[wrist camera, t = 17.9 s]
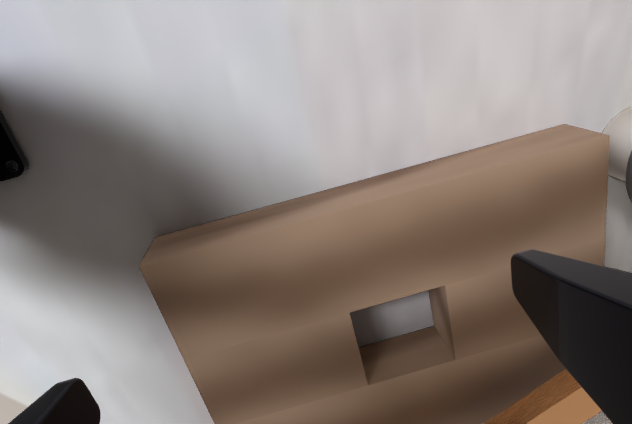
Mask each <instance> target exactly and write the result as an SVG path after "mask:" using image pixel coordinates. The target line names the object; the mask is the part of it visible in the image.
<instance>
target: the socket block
mask: <svg viewBox="0 0 632 424" xmlns="http://www.w3.org/2000/svg"><path fill="white" fill-rule="evenodd" d="M609 137H610V135H606V134H602V133H598V132H594V131H590V130H586V129H582V128H578V127H574V126H570V125H566V124H563V125H559V126H556V127H552V128H549V129H545V130H541V131H538V132H534V133H531V134H527V135H523V136H520V137H516V138H512V139H509V140H505V141H502V142H498V143H494V144H491V145H487V146H484V147H480V148H476V149H473V150H469V151H465V152H462V153H458V154H455V155H451V156H447V157H444V158H440V159H436V160H433V161H429V162H426V163H422V164H418V165H415V166H411V167H408V168H404V169H400V170H397V171H393V172H389V173H386V174H382V175H379V176H375V177H371V178H368V179H364V180H361V181H357V182H353V183H350V184H346V185H342V186H339V187H335V188H332V189H328V190H324V191H321V192H317V193H314V194H310V195H306V196H303V197H299V198H295V199H292V200H288V201H285V202H281V203H277V204H274V205H270V206H267V207H263V208H259V209H256V210H252V211H248V212H245V213H241V214H238V215H234V216H230V217H227V218H223V219H219V220H216V221H212V222H209V223H205V224H201V225H198V226H194V227H191V228H187V229H183V230H180V231H176V232H172V233H169V234H165V235H162V236H158V237H155V238H154V240H153V241H152V243H151V245H150V247H149V249H148V251H147V252H146V254H145V256H144V258H143V260H142V262H141V263H140V265H139V268H140V270H141V272H142V274H143V276H144V278H145V280H146V282H147V284H148V286H149V288H150V290H151V293H152V295H153V297H154V299H155V301H156V303H157V305H158V307H159V309H160V311H161V313H162V315H163V317H164V320H165V322H166V324H167V326H168V328H169V330H170V332H171V334H172V336H173V338H174V340H175V342H176V344H177V346H178V349H179V351H180V353H181V355H182V357H183V359H184V361H185V363H186V365H187V367H188V369H189V371H190V373H191V376H192V378H193V380H194V382H195V384H196V386H197V388H198V390H199V392H200V394H201V396H202V398H203V400H204V403H205V405H206V407H207V409H208V411H209V413H210V415H211V417H212V419H213V421H214V423H215V424H483V423H486V422H487V421H489V420H490V419H492V418H493V417H495V416H496V415H498V414H499V413H501V412H502V411H504V410H505V409H507V408H508V407H510V406H511V405H513V404H514V403H516V402H517V401H519V400H520V399H522V398H523V397H525V396H526V395H528V394H529V393H531V392H532V391H534V390H535V389H537V388H538V387H540V386H541V385H543V384H544V383H546V382H547V381H549V380H550V379H552V378H553V377H555V376H556V375H558V374H559V373H561V372H562V371H564V370H565V369H566V368H565V367H564V366H563V364H562V363H561V362H560V361H559V360H558V358H557V357H556V355H555V354H554V353H553V351H552V350H551V349H550V347H549V346H548V344H547V343H546V341H545V340H544V338H543V337H542V335H541V334H540V333H539V331H538V330H537V328H536V327H535V325H534V324H533V322H532V321H531V320H530V318H529V317H528V315H527V314H526V312H525V311H524V309H523V308H522V307H521V305H520V304H519V302H518V301H517V299H516V298H515V295H514V293H513V289H512V278H511V257H512V255H513V254H515V253H518V252H522V251H525V250H529V249H534V250H538V251H543V252H547V253H551V254H555V255H559V256H563V257H568V258H572V259H576V260H580V261H584V262H588V263H593V264H597V265H601V266H604V254H605V230H606V207H607V184H608V160H609ZM427 290H429V297H430V303H431V309H432V315H433V322H434V326H432V327H429V328H425V329H422V330H418V331H415V332H411V333H408V334H405V335H401V336H398V337H394V338H391V339H387V340H384V341H380V342H377V343H373V344H370V345H366V346H363V347H359V348H358V344H357V340H356V336H355V332H354V328H353V324H352V320H351V317H350V312H353V311H357V310H360V309H364V308H367V307H371V306H374V305H378V304H381V303H385V302H389V301H392V300H396V299H399V298H403V297H406V296H410V295H413V294H417V293H420V292H424V291H427Z"/></svg>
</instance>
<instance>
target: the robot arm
mask: <svg viewBox="0 0 632 424" xmlns="http://www.w3.org/2000/svg"><path fill="white" fill-rule="evenodd" d="M11 161H14V162H16V163H17V165H18V169H15V168H13V167H12V166H11V163H10V162H11ZM28 169H29V164H28V161H27V159H26V157H25V155H24V153H23V151H22V150H21V148H20V146H19V144H18V142H17V140H16V139H15V137H14V135H13V133H12V131H11V129H10V127H9V126H8V124H7V122H6V120H5V118H4V116H3V115H2V113H1V111H0V181H4V180H8V179H11V178H15V177H18V176H20V175H22V174H24V173H26V172H27V171H28ZM511 278H512V289H513V293H514V295H515V298H516V299H517V301H518V302H519V304H520V305H521V307H522V308H523V309H524V311H525V312H526V314H527V315H528V317H529V318H530V320H531V321H532V322H533V324H534V325H535V327H536V328H537V330H538V331H539V333H540V334H541V335H542V337H543V338H544V340H545V341H546V343H547V344H548V346H549V347H550V349H551V350H552V351H553V353H554V354H555V355H556V357H557V358H558V360H559V361H560V362H561V363H562V364H563V366H564V367H565V368H566V369H567V371H568V372H569V373H570V374H571V375H572V376H573V378H574V379H575V380H576V381H577V382H578V383H579V385H580V386H581V387H582V388H583V389H584V390H585V392H586V393H587V394H588V395H589V396H590V397H591V399H592V400H593V401H594V402H595V403H596V404H597V406H598V407H599V408H600V409H601V410H602V411H603V413H604V414H605V415H606V416H607V417H608V418H609V420H610V421H611V422H612V423H613V424H632V273H630V272H626V271H622V270H618V269H613V268H609V267H605V266H601V265H597V264H593V263H588V262H584V261H580V260H576V259H572V258H568V257H563V256H559V255H555V254H551V253H547V252H543V251H538V250H534V249H529V250H525V251H522V252H518V253H515V254H513V255H512V257H511ZM99 423H100V409H99V406H98V404H97V403H96V401H95V399H94V398H93V396H92V395H91V393H90V391H89V390H88V388H87V387H86V385H85V383H84V382H83V381H82V380H81V379H79V378H74V379H70V380H67V381H63V382H60V383H57V384H55V385H54V386H53V387H51V388H50V389H49V390H48V391H47V392H45V393H44V394H43V395H42V396H41V397H39V398H38V399H37V400H36V401H35V402H33V403H32V404H31V405H30V406H29V407H28V408H26V409H25V410H24V411H23V412H22V413H20V414H19V415H18V416H17V417H16V418H14V419H13V420H12V421H11V422H10V423H8V424H99Z"/></svg>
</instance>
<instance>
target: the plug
mask: <svg viewBox="0 0 632 424" xmlns="http://www.w3.org/2000/svg"><path fill="white" fill-rule="evenodd" d="M602 134H606V135H610V137H609V160H608V175H610V176H612V177H615V178H618V179H620V180H623V181H626V188H627V192H628V195H629V198H630V200H631V202H632V107H629V108H627V109H625V110H623V111H622V112H620V113H619V114H617V115H616V116H615V117H614V118H613V119H612V120H611V121H610V122H609V123H608V124H607V126H606V127H605V129H604V130H603V132H602Z"/></svg>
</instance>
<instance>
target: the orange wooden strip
mask: <svg viewBox="0 0 632 424" xmlns="http://www.w3.org/2000/svg"><path fill="white" fill-rule="evenodd" d="M601 411H602V410H601V409H600V408H599V407H598V406H597V404H596V403H595V402H594V401H593V400H592V399H591V397H590V396H589V395H588V394H587V393H586V392H585V390H584V389H583V388H582V387H581V386H580V385H579V383H578V382H577V381H576V380H575V379H574V378H573V376H572V375H571V374H570V373H569V372H568V371H567V369H565V370H564V371H562V372H561V373H559V374H558V375H556V376H555V377H553V378H552V379H550V380H549V381H547V382H546V383H544V384H543V385H541V386H540V387H538V388H537V389H535V390H534V391H532V392H531V393H529V394H528V395H526V396H525V397H523V398H522V399H520V400H519V401H517V402H516V403H514V404H513V405H511V406H510V407H508V408H507V409H505V410H504V411H502V412H501V413H499V414H498V415H496V416H495V417H493V418H492V419H490V420H489V421H487V422H486V423H484V424H582V423H584V422H585V421H587V420H588V419H590V418H591V417H593V416H595V415H596V414H598V413H599V412H601Z"/></svg>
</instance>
